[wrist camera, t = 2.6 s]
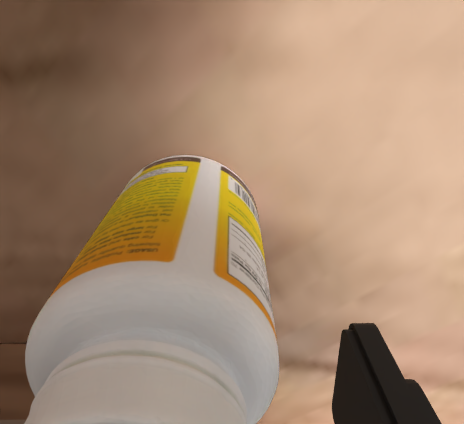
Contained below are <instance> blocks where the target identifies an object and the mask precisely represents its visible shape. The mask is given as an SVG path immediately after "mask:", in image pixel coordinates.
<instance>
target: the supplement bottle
mask: <svg viewBox="0 0 464 424" xmlns="http://www.w3.org/2000/svg"><path fill="white" fill-rule="evenodd" d="M25 365H26V374H27V378H28V381H29V384H30V387H31V389H32V391H33V393H34V395H35V398H34V400H33V402H32V405H31V408H30V413H29V416H28V418H27V420H26V421H25V423H24V424H256V423H257V422H258V421H259V420H260V419H261V418H262V416H263V415H264V413H265V412H266V411H267V409H268V407H269V405H270V403H271V401H272V399H273V396H274V394H275V391H276V388H277V385H278V379H279V353H278V344H277V337H276V330H275V324H274V317H273V310H272V304H271V297H270V291H269V284H268V277H267V270H266V264H265V257H264V251H263V244H262V237H261V231H260V224H259V217H258V212H257V207H256V204H255V201H254V198H253V196H252V194H251V192H250V190H249V189H248V187H247V186H246V184H245V183H244V182H243V181H242V180H241V178H240V177H239V176H238V175H236V174H235V173H234V172H233V171H232V170H230V169H229V168H227V167H226V166H224V165H222V164H220V163H218V162H216V161H214V160H211V159H208V158H205V157H201V156H194V155H177V156H170V157H166V158H163V159H159V160H157V161H154V162H152V163H150V164H149V165H147V166H145V167H144V168H143V169H141V170H140V171H139V172H138V173H137V174H136V175H135V176H134V177H133V178H132V179H131V180H130V181H129V182H128V184H127V185H126V187H125V188H124V190H123V191H122V193H121V194H120V195H119V197H118V198H117V200H116V201H115V203H114V204H113V206H112V207H111V209H110V210H109V211H108V213H107V214H106V216H105V217H104V218H103V220H102V221H101V223H100V224H99V226H98V227H97V229H96V230H95V232H94V233H93V235H92V236H91V238H90V239H89V241H88V242H87V243H86V245H85V246H84V248H83V249H82V251H81V252H80V254H79V255H78V257H77V258H76V259H75V261H74V262H73V264H72V265H71V267H70V268H69V270H68V271H67V272H66V274H65V275H64V277H63V278H62V280H61V281H60V283H59V284H58V285H57V287H56V288H55V290H54V291H53V293H52V294H51V296H50V297H49V299H48V300H47V302H46V303H45V305H44V306H43V308H42V309H41V311H40V313H39V314H38V316H37V318H36V320H35V322H34V324H33V326H32V328H31V330H30V333H29V337H28V340H27V345H26V350H25Z"/></svg>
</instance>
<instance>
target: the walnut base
mask: <svg viewBox="0 0 464 424" xmlns="http://www.w3.org/2000/svg"><path fill="white" fill-rule="evenodd" d="M26 345H27V344H0V424H24V423H25V421H26V420H27V418H28V416H29V413H30V408H31V405H32V402H33V400H34V398H35V395H34V393H33V391H32V389H31V387H30V384H29V381H28V378H27V374H26V365H25V350H26Z"/></svg>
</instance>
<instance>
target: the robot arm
mask: <svg viewBox="0 0 464 424" xmlns="http://www.w3.org/2000/svg"><path fill="white" fill-rule="evenodd" d="M332 413H333V419H334V423H335V424H441V422H440V420H439V418H438V417H437V415H436V413H435V411H434V410H433V408H432V406H431V404H430V402H429V401H428V399H427V397H426V395H425V394H424V392H423V390H422V388H421V387H420V386H419V384H418V383H417V382H416V381H415V380H412V379H404V377H403V375H402V373H401V371H400V369H399V368H398V366H397V364H396V362H395V360H394V358H393V356H392V354H391V352H390V350H389V349H388V347H387V345H386V343H385V341H384V339H383V337H382V335H381V333H380V332H379V330H378V328H377V326H376V325H375V324H374V323H352V324H350V326H349V329H348V330H343V331H342V334H341V341H340V349H339V356H338V364H337V371H336V379H335V386H334V393H333V401H332Z"/></svg>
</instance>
